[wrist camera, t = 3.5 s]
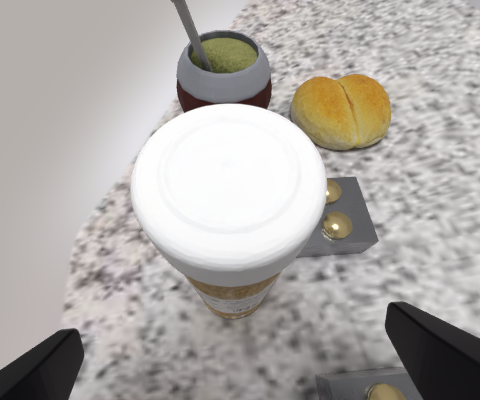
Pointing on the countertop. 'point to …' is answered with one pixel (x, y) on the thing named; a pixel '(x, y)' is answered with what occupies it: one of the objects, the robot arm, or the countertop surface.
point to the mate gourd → (221, 68)
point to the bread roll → (342, 111)
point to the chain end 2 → (368, 385)
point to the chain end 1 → (342, 222)
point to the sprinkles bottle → (229, 200)
